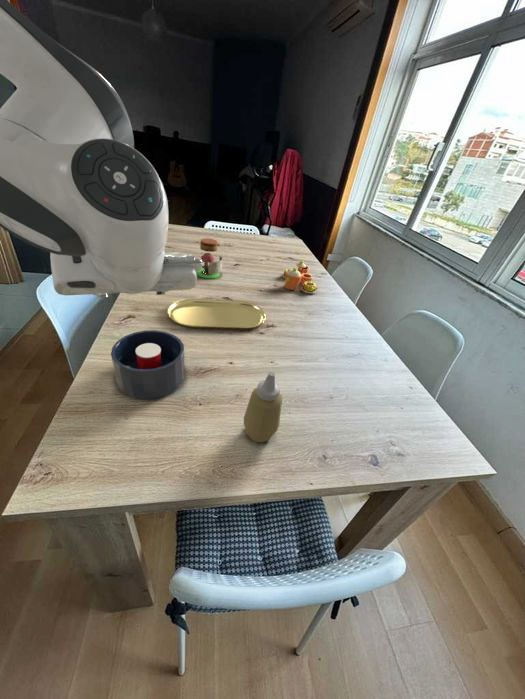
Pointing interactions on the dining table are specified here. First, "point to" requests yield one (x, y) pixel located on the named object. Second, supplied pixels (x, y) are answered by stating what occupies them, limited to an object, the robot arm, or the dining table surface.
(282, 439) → the dining table surface
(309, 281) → the toy tea set
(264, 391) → the squeeze bottle
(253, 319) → the serving platter
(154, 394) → the pot
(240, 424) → the dining table surface
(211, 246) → the mushroom terrarium jar
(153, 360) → the disc
